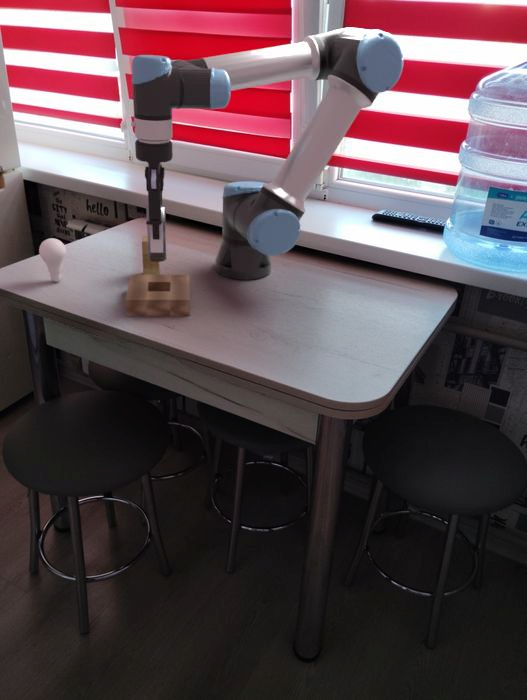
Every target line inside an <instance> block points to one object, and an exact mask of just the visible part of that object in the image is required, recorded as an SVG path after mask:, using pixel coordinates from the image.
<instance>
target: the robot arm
mask: <svg viewBox="0 0 527 700" xmlns="http://www.w3.org/2000/svg"><path fill="white" fill-rule="evenodd" d="M403 52H404V51H403V48H402V46H401V44H400V41H399V40H398V39H397V38H396V37H395V36H394V35H393V34H391V33H390V32H386V31H383V30H381V29H367V28H366V29H365V28H359V27H353V26H352V27H343V28H338V29H334V30H331V31H330V30H329V31H327V32H323V33H322V32H321V33H318V34H313V35H307V36H305V37H304V38H303V39H302V41H300V42H295V43H287V44H282V45H276V46H270V47H269V46H268V47H264V48H257V49H251V50H246V51H245V50H244V51H239V52H233V53H231V52H230V53H226V54H220V55H214V56H213V55H212V56H208V57H202V58H195V59H190V60H181V59H175V60H174V59H173V60H171V58H170V57H168V56H164V55H153V54H139V55H136V56H134V57H133V58H132V62H131V86H132V101H133V117H134V119H133V120H134V121H131V124H130V125H131V127H135V128H134V137H135V138H136V141H134V143H135V144H134V146H135V148H134V149H135V158H136V160H138V161H140V162H146V163H147V166H145V169H144V178H145V184H146V186H145V187H146V192H147V196H148V205H149V221H147V220H146V222H145V223H146V226H147V225H150V251H151V253H163V230H162V220H161V204H162V205H163V191H164V186H165V182H164V179H165V167H164V166H163V164H161V163H167V162H170V161H172V160H173V155H174V154H173V142H172V141H171V140H172V138H173V114H172V113H173V109H176V110H179V109H186V110H187V109H189V110H190V109H191V110H192V109H194V110H198V109H199V110H210V111H211V110H215V109H225V108H226V107H227V106H228V105H229V103H230V99H231V91H237V90H242V89H248V88H249V89H250V88H254V87H260V86H265V85H271V84H276V83H277V84H278V83H282V82H288V81H294V80H299V79H305V78H306V79H307V81H310V82H315V81H320V80H321V81H327V83H328V89H327V90H326V92H325V94H324V95H323V97H322V99H321V101H320V102H319V104H318V105H317V106H316V107H317V108H316V109H315V111H314V112H313V114H312V115H311V117H310V119H309V120H308V122H307V124H306V126H305V127H304V129H303V131H302V133H301V134H300V135H299V137H298V139H297V141H296V142H295V144H294V145H293V147H292V149H291V151H290V153H289V154H288V156H287V157H286V159H285V161H284V162H283V164H282V166H281V167H280V169H279V171H278V173H276V176H275V177H274V179H273V181H271V182H269V183H266V182H263V181H261V182H260V181H249V180H248V181H244V180H243V181H234V182H229V183H227V184H225V186H224V187H223V192H222V235H221V236H222V239H221V243H220V246H219V249H218V251H217V254H216V256H215V261H214V263H215V264H214V269H215V270H216V272H217V273H218V274H219V275H221V276H223V277H227V278H231V279H235V280H256V279H260V278H264V277H266V276H268V275H270V273H271V272H272V259H271V257H274V256H276V257H277V256H279V255H284V254H286V253H287V252H289V251H290V250H292V249H293V248H294V247H295V245H297V242H298V241H299V238H300V236H301V231H302V230H301V223H300V221H301V219H302V217H303V216H304V214H305V212H306V210H305V205H304V202H305V201H306V199H307V197H308V195H309V194H310V193H311V191H312V189H313V187H314V186H315V184H316V183H317V181H318V180H319V177H320V176H321V175H322V173H323V171H324V169H325V168H326V167H327V165H328V163H329V162H330V160H331V159H332V157H333V155H334V154H335V152H336V150H337V148H338V147H339V145H340V143H342V140H343V139H344V138H345V136H346V134H347V132H348V131H349V129H350V128H351V125H352V124H353V123H354V121H355V119H356V118H357V116H358V115H359V113H360V111H361V110H362V109H365V108H369V107H371V106H372V105H373V103H374V101H376V99H377V96H379V94H381V93H385V92H386V91H387V92H388V91H389V90H391V89H392V88H393V87H394V86H395V85H396V84H397V83H398V81H399V80H400V77H401V75H402V72H403V68H404V57H403V54H404V53H403ZM166 215H167V213H166V210H165V216H166Z"/></svg>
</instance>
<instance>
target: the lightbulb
mask: <svg viewBox="0 0 527 700" xmlns="http://www.w3.org/2000/svg"><path fill="white" fill-rule="evenodd" d="M38 253H39V256H40V258H41V259H42V261H43V262H44V263H45V265H46V267H47V270H48V273H49V276H50V280H51V281H53V282H54V283H58V282H60V281H61V280H62V271H63V262H64V260H65V258H66V255H67V248H66V246H65V244H64V243H63V242H62V241H61V240H59V239H57V238H53V237H51V238H47V239H45V240H43V241H42V242H41V243H40V245H39V249H38Z"/></svg>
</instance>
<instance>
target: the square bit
mask: <svg viewBox="0 0 527 700" xmlns="http://www.w3.org/2000/svg"><path fill="white" fill-rule="evenodd" d="M141 254H142V270H143V274H153V275H161V262H153V261H150V260H149V259H148V238H147V235H142V238H141Z"/></svg>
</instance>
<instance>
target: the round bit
mask: <svg viewBox="0 0 527 700" xmlns="http://www.w3.org/2000/svg"><path fill="white" fill-rule="evenodd" d="M145 209H146V221H149V204H147V205H145ZM165 211H166V206H165V204H163V203H162V204H161V220H162V230H163V253H151V251H150V225H147V224H146V230H147V231H146V232H147V233H146V236H147V238H148V259H149V260H150V261H153V262H160V263H161V262H164V261H166V260H167V241H166V240H167V239H166V238H167V236H166V234H167V233H166V230H167V229H166V215H165Z"/></svg>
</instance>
